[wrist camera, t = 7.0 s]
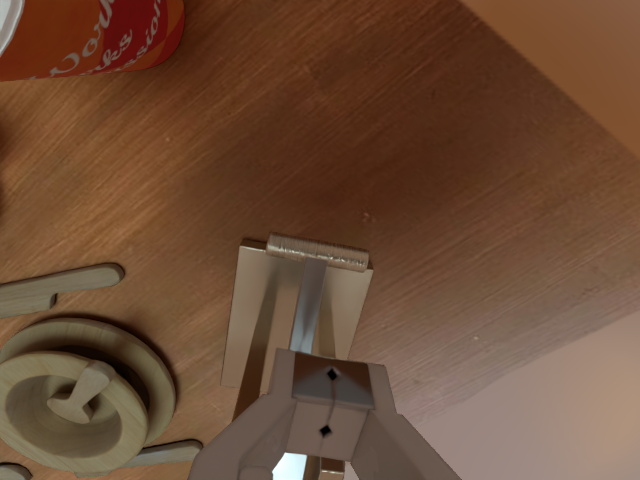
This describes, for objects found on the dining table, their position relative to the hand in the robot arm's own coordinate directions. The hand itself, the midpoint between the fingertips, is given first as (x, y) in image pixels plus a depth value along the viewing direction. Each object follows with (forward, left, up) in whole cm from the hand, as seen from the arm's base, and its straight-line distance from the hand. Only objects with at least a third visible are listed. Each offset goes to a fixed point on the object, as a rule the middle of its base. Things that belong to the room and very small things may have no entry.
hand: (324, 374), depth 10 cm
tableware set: (+21, -22, -15) cm, 34 cm away
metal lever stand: (+9, 0, -15) cm, 18 cm away
